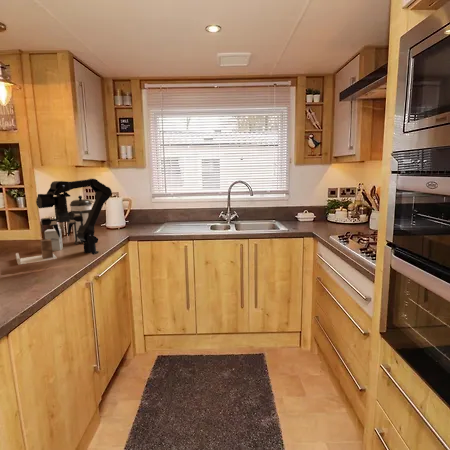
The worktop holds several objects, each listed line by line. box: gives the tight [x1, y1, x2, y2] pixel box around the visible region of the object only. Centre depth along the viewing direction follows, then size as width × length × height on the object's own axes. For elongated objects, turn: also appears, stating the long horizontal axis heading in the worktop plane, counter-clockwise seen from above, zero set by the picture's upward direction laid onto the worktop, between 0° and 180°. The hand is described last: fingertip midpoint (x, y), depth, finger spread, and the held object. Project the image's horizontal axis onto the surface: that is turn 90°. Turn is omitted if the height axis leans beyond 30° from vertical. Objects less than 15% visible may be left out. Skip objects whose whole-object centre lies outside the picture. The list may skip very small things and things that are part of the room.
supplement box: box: [44, 228, 64, 252], centre depth 183 cm, size 7×7×13 cm
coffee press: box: [69, 195, 93, 245], centre depth 203 cm, size 17×16×30 cm
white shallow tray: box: [15, 252, 58, 265], centre depth 164 cm, size 17×13×4 cm
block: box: [39, 238, 54, 259], centre depth 166 cm, size 4×4×9 cm
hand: (64, 236), depth 164 cm, fingers open, 4 cm apart
